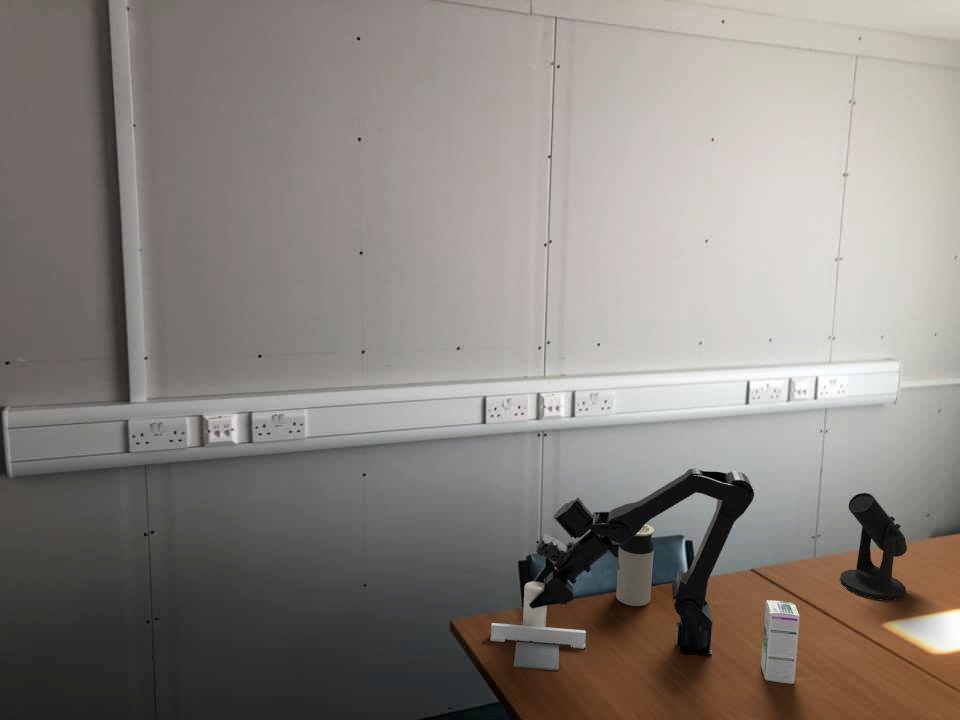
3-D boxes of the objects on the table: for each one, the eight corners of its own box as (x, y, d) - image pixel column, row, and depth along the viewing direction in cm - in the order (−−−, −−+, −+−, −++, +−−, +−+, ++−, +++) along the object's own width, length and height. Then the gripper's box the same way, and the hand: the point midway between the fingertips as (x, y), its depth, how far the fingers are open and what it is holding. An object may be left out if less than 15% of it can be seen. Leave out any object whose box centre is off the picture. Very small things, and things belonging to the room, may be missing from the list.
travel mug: (654, 597, 185) (659, 526, 182) (642, 610, 179) (647, 537, 176) (623, 588, 190) (628, 519, 187) (610, 601, 183) (615, 529, 180)
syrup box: (795, 684, 151) (802, 615, 148) (763, 680, 152) (770, 612, 150) (789, 668, 156) (796, 602, 154) (759, 664, 157) (765, 598, 155)
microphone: (822, 578, 199) (832, 485, 195) (875, 571, 204) (886, 480, 200) (866, 604, 185) (878, 505, 181) (922, 596, 190) (935, 499, 186)
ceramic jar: (545, 624, 171) (547, 582, 169) (545, 636, 166) (547, 592, 165) (523, 622, 172) (525, 580, 170) (522, 634, 167) (524, 591, 165)
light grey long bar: (584, 641, 165) (585, 628, 164) (585, 648, 162) (585, 635, 161) (491, 633, 167) (492, 620, 166) (490, 640, 164) (491, 627, 163)
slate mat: (558, 647, 162) (559, 645, 162) (558, 670, 153) (558, 668, 153) (516, 643, 163) (516, 641, 163) (513, 666, 154) (513, 665, 154)
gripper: (560, 510, 174) (509, 552, 177) (559, 542, 155) (503, 589, 158) (593, 545, 174) (542, 587, 177) (596, 582, 156) (539, 628, 159)
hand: (531, 596), depth 168 cm, fingers open, 9 cm apart
